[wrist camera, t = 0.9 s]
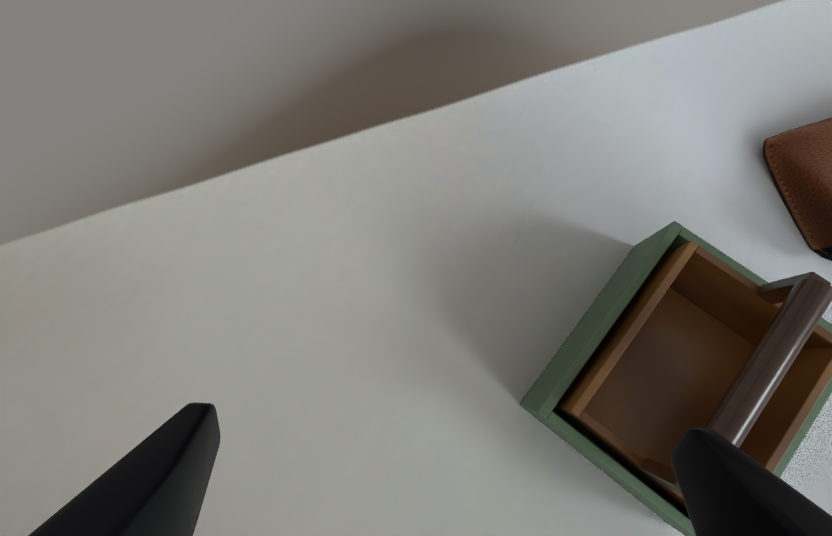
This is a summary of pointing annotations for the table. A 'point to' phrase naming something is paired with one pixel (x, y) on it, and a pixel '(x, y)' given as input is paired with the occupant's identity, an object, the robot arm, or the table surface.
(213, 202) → the table surface
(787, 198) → the sunglasses case
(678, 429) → the wooden basket with handle
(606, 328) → the green basket
